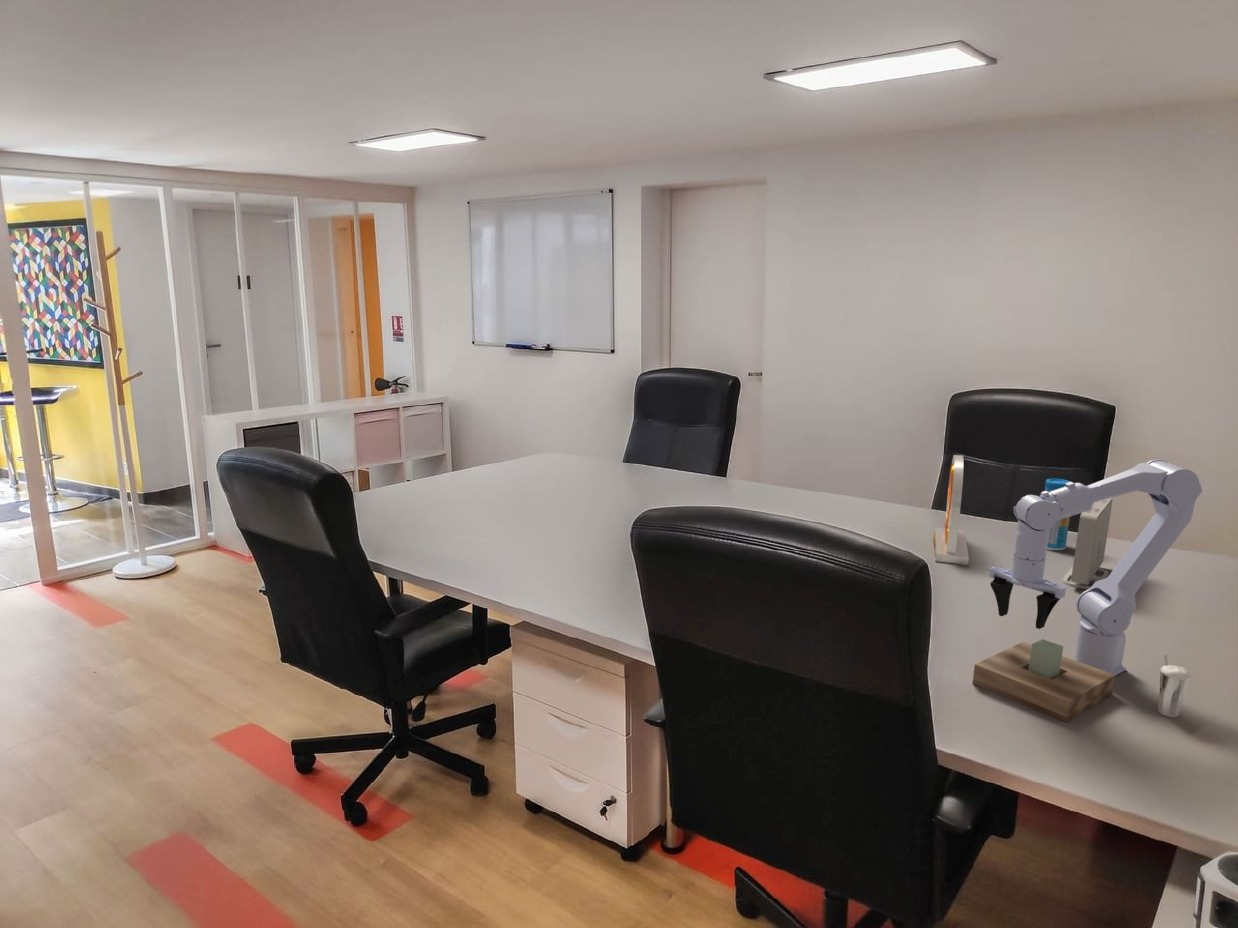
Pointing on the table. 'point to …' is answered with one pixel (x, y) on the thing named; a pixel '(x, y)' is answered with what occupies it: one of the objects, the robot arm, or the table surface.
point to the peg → (1045, 659)
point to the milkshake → (1172, 689)
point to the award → (952, 521)
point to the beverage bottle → (1061, 526)
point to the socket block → (1044, 683)
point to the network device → (1090, 545)
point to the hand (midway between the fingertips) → (1021, 620)
